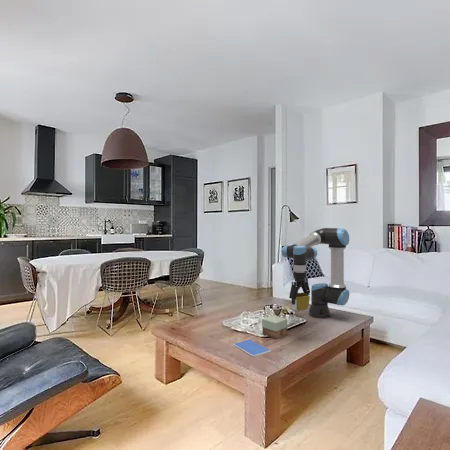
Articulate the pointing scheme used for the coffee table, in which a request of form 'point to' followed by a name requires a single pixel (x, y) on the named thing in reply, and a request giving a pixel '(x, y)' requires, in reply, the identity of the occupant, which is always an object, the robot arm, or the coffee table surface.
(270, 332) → the bottom block
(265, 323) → the top block
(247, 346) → the tablet computer
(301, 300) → the flower pot
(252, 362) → the coffee table surface
